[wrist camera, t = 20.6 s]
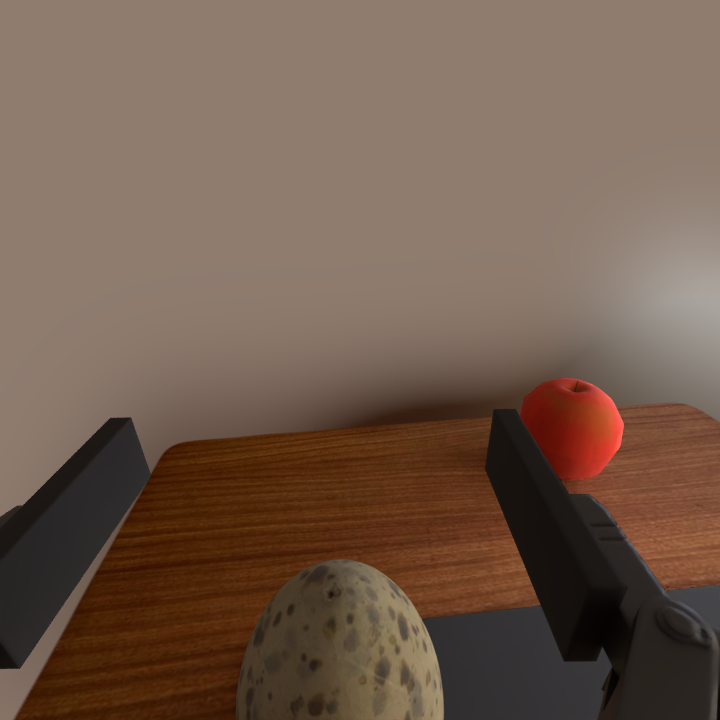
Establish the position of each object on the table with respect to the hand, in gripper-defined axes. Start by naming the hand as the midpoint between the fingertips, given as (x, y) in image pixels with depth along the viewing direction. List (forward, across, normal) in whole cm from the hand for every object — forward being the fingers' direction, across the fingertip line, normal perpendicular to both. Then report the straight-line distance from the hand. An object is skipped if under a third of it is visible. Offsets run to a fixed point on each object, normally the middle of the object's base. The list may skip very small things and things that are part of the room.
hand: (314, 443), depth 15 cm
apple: (+25, +24, -24) cm, 42 cm away
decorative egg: (-1, 0, -23) cm, 23 cm away
